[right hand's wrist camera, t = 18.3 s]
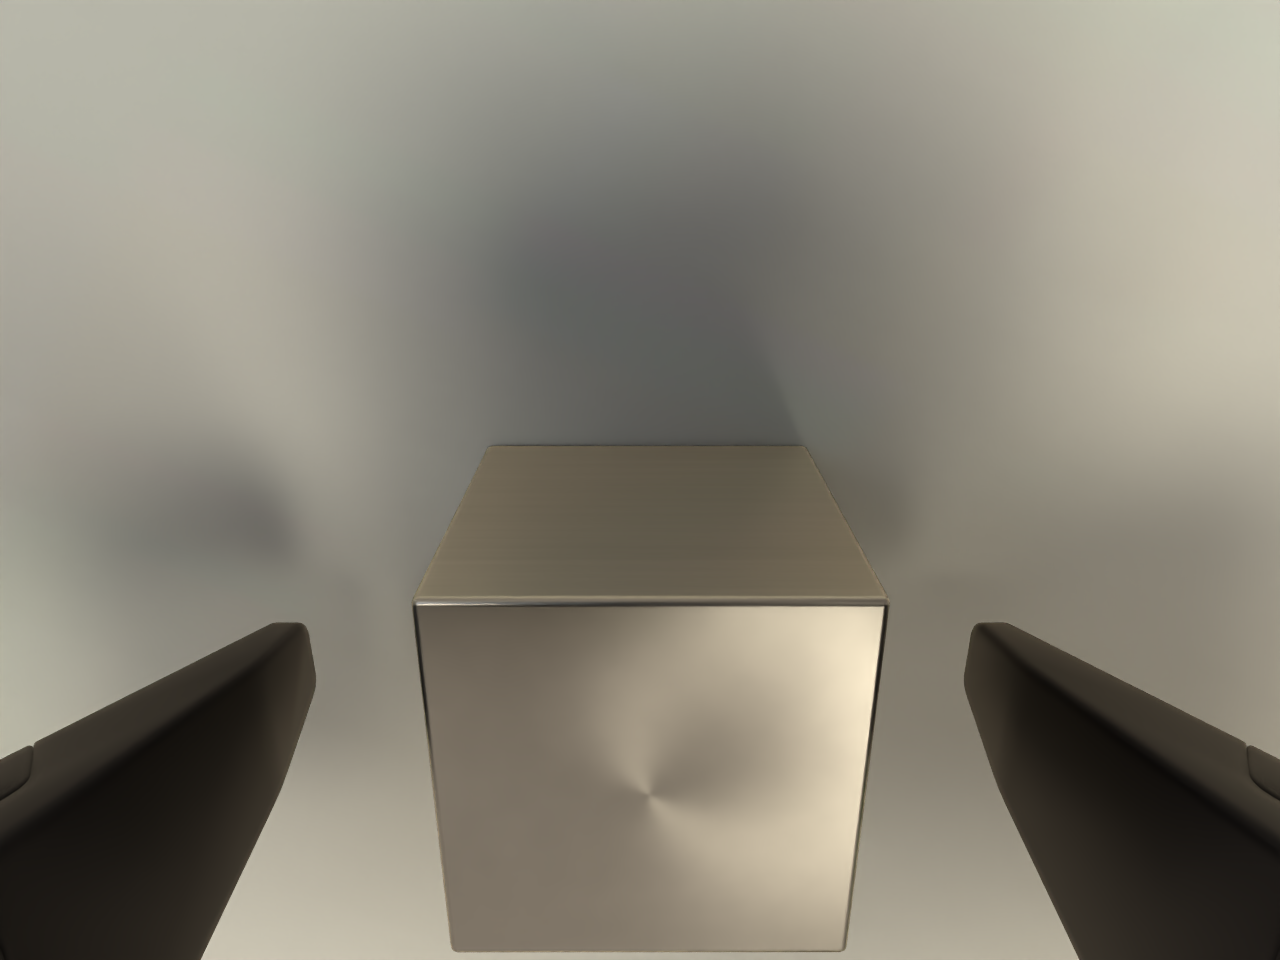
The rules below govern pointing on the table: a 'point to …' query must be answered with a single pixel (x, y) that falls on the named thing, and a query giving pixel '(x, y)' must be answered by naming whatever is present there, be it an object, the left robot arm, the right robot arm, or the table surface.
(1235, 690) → the table surface
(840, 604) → the cube
